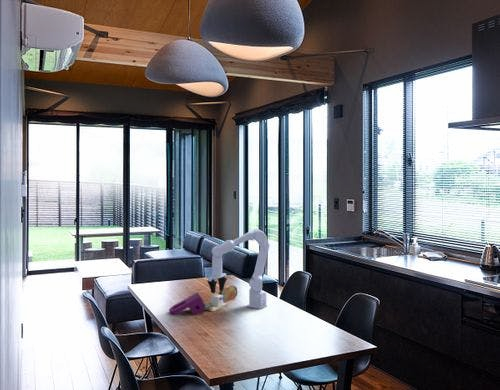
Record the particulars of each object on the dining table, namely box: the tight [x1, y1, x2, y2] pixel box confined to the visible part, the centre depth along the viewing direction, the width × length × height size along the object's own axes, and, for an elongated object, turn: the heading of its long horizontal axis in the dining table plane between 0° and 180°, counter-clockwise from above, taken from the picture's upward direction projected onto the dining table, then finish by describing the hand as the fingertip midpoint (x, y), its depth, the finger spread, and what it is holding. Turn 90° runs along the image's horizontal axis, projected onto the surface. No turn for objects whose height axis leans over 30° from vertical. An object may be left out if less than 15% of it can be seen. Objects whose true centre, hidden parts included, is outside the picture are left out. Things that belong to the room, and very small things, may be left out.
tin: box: [218, 285, 238, 303], centre depth 279 cm, size 15×3×8 cm, turn 143°
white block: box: [210, 293, 223, 307], centre depth 262 cm, size 6×4×6 cm
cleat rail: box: [203, 300, 229, 312], centre depth 262 cm, size 6×14×3 cm, turn 147°
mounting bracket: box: [168, 292, 205, 315], centre depth 252 cm, size 10×8×18 cm
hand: (217, 291), depth 262 cm, fingers open, 7 cm apart
